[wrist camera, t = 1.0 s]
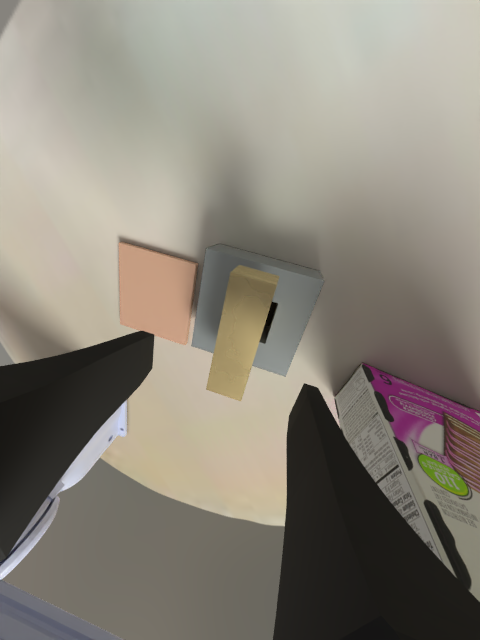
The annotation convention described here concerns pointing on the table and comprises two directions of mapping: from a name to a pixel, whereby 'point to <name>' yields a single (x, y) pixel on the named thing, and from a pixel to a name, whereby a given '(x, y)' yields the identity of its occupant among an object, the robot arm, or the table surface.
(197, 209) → the table surface
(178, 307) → the terracotta pad
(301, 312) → the slate socket block
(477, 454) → the candy bar box
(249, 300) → the brass rectangular peg
